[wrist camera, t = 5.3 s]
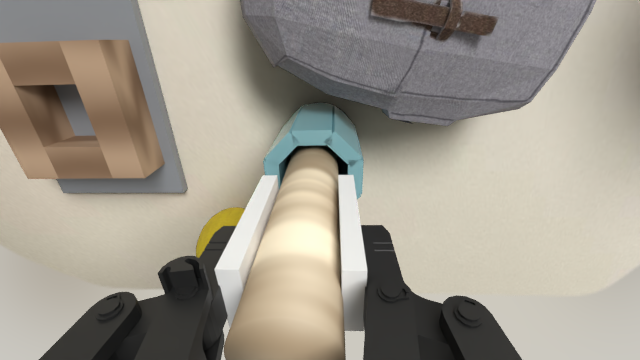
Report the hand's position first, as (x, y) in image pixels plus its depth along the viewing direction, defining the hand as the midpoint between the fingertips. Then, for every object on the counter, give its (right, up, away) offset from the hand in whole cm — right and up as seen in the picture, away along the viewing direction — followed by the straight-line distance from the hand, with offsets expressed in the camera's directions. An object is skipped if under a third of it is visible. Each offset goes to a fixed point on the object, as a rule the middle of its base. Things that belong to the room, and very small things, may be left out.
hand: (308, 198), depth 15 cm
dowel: (0, +4, +8) cm, 9 cm away
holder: (-19, +7, +9) cm, 22 cm away
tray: (-19, +7, +9) cm, 22 cm away
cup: (+1, +5, +10) cm, 11 cm away
